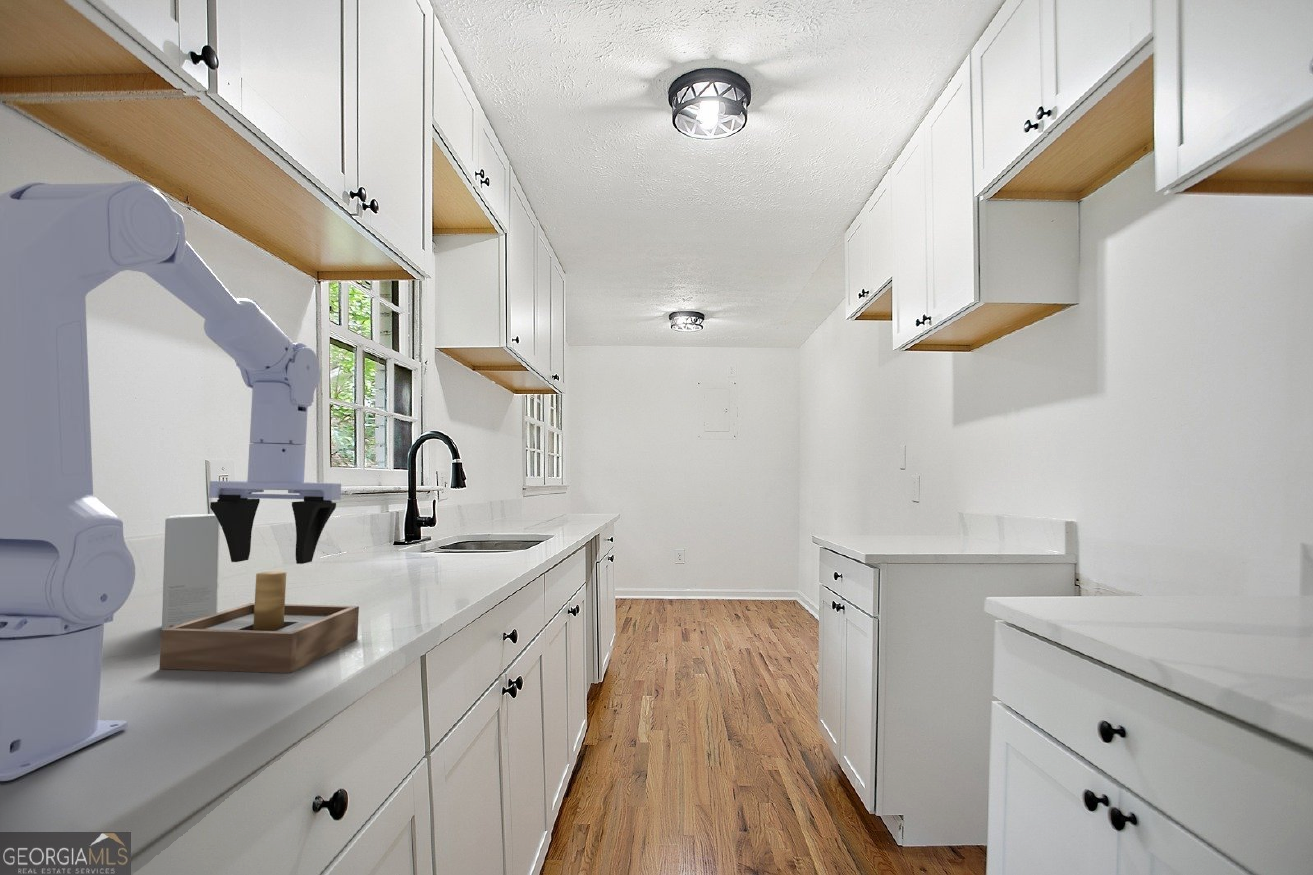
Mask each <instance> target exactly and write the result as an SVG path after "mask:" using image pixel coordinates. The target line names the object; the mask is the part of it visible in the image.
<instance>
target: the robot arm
mask: <svg viewBox="0 0 1313 875" xmlns="http://www.w3.org/2000/svg"><path fill="white" fill-rule="evenodd" d="M186 236H187V235H186V227H185V222H184V218H183V216H182V215H181V214H180V213H179V212H177V211H176V210H175V209H174V208H172V205H171V204H169V202H168V200H167V198H166V197H165V196H164V195H163V194H162V193H161V192H160V191H159V190H157V189H156V188H155V187H154V186H152V185H150V184H147V183H146V182H142V181H138V180H137V181H136V180H129V181H128V180H127V181H122V182H119V183H117V182H115V183H113V182H112V183H109V182H107V183H106V182H105V183H103V182H102V183H52V184H51V183H44V182H28V183H25V184H22V185H20V186H17V187H15V188H12V189H10V190H7V191H5V192H3V193H1V194H0V782H7V781H12V780H14V779H15V780H16V779H17V778H19V777H21V776H24V775H26V774H28V773H30V772H33V771H35V770H37V769H39V768H41V767H44V766H46V765H49V764H50V763H52V762H55V761H57V760H59V759H61V758H63V757H66V756H67V755H70V754H72V753H74V752H76V751H79V750H80V749H82V748H85V747H88V746H90V745H91V744H94V743H96V742H98V741H100V740H102V739H105V738H107V737H109V736H111V735H114V734H116V733H118V732H120V731H122V730H124V729H126V728H128V726H129V725H128V721H127V720H111V719H109V720H106V719H99V711H100V710H99V708H100V692H101V679H102V678H101V677H102V676H101V675H102V661H103V648H104V632H105V624H107V623H111V622H114V615H115V613H117V612H118V611H119V610H120V609H121V608H122V607H123V605H124V604H125V603H126V601H128V598H129V597H130V594H131V592H132V590H133V587H134V585H135V580H136V565H135V560H134V557H133V555H132V553H131V551H130V550H129V548H128V546H127V545H126V540H125V537H124V522H123V521H122V519H121V518H120V517H119V516H117V515H116V514H115V513H114V512H113V511H112V510H111V509H110V508H108V507H107V506H106V505H105V504H104V503H103V502H101V501H100V500H99V499H98V498H97V497H96V496H95V495H94V485H93V484H94V482H93V459H92V458H93V457H92V456H93V455H92V453H93V452H92V432H91V431H92V430H91V409H90V408H91V407H90V406H91V404H90V403H91V402H90V401H91V400H90V381H89V380H90V378H89V376H90V375H89V356H88V355H89V354H88V330H87V328H88V327H87V304H86V296H87V295H88V293H90V292H92V291H93V290H94V289H96V288H97V287H99V286H101V284H103V283H105V282H107V281H108V280H109V279H111V278H112V277H114V276H116V275H118V274H119V273H121V272H124V271H125V272H126V271H132V272H139V273H144V274H145V275H147V276H148V277H149V278H151V279H152V280H154V281H155V282H156V283H157V284H158V285H160V286H161V287H163V289H165V290H167V291H168V292H169V293H170V294H172V295H173V296H175V297H176V298H177V299H178V300H180V301H181V302H182V303H184V304H185V305H186V306H187V307H189V308H190V309H191V310H193V311H194V312H195V313H197V314H198V315H199V316H200V317H201V318H203V319H204V322H203V330H204V334H205V335H206V336H207V337H208V339H209V340H211V342H212V343H214V344H216V345H217V346H218V347H219V348H220V349H221V350H223V352H224V353H225V354H227V355H228V356H230V358H232V359H233V360H234V362H235V363H236V365H235V366H236V367H238V369H239V371H240V374H241V378H242V381H243V382H244V384H245V385H246V387H247V388H251V389H252V390H251V410H250V426H249V427H250V428H249V429H250V430H249V443H248V447H249V448H248V461H247V462H248V464H247V479H246V480H247V481H244V480H243V481H238V480H235V481H234V480H210V481H209V490H208V491H209V492H208V498H210V499H217V500H216V501H211V502H210V504H209V508H210V510H211V512H213V513H212V514H215V516H216V517H217V519H218V521H219V523H220V528H221V530H222V532H223V535H224V537H225V541H226V543H227V547H228V548H227V550H228V553H229V556H230V557H229V558H230V561H231V563H240V562H244V561H249V559H250V556H251V555H250V554H251V549H252V548H251V544H252V534H253V533H252V532H253V526H254V522H255V518H256V514H257V511H258V507H259V505H260V499H267V500H268V499H273V500H275V499H277V500H300V501H291V507H292V512H293V516H294V523H295V532H296V533H295V534H296V536H295V540H296V541H295V560H296V561H295V563H296V565H304V564H309V563H312V562H313V559H314V556H315V552H316V549H317V548H316V547H317V545H318V542H319V540H320V536H321V534H322V532H323V529H324V528H325V526H326V524H327V523H328V521H329V519H330V517H331V516H332V514H333V512H334V511H335V509H336V508H337V502H333V501H341V499H342V498H341V497H342V483H341V482H340V483H339V482H338V483H335V482H334V483H333V482H332V483H331V482H330V483H329V482H305V468H306V450H307V449H306V447H307V446H306V445H307V432H308V429H307V428H308V413H309V412H308V411H309V410H308V408H310V407H311V406H312V405H313V403H314V394H315V390H316V389H317V387H318V386H319V383H320V380H321V375H322V370H321V369H320V363H319V362H320V361H319V359H318V357H317V354H316V353H315V351H313V350H312V348H310V347H308V346H307V345H306V344H305V343H301V342H294V341H293V340H292V339H291V338H289V336H288V335H286V334H285V333H284V331H283V330H282V329H281V328H280V327H279V326H278V325H277V324H276V323H275V322H274V321H273V320H272V319H271V318H270V317H269V316H268V315H267V314H266V313H265V311H263V310H262V306H261V305H260V304H259V303H258V302H257V301H256V300H251V299H249V298H246V297H234V296H233V295H232V294H231V292H230V291H229V290H228V288H226V286H225V285H224V284H223V283H222V282H221V280H220V279H219V278H218V277H217V275H215V273H214V272H213V271H212V270H211V268H210V267H209V266H208V265H207V264H206V262H204V261H203V259H202V258H201V257H200V256H199V254H198V253H197V252H196V251H195V250H194V248H192V246H191V245H190V244H189V242H188V241H187V240H186V239H187V237H186ZM264 491H287V494H283V493H282V494H279V493H275V494H274V493H273V494H272V493H264ZM301 500H302V501H301Z"/></svg>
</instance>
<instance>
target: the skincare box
mask: <svg viewBox="0 0 1313 875" xmlns="http://www.w3.org/2000/svg"><path fill="white" fill-rule="evenodd" d="M164 524H165V525H164V548H163V549H164V550H163V551H164V553H163V578H162V580H163V581H162V609H161V611H162V612H161V614H162V615H161V631H162V630H163V629H167V628H170V627H173V626H177V625H180V624H183V623H186V622H190V621H193V620H196V619H200V618H203V617H206V616H210V615H213V614H216V613H219V578H220V577H219V572H220V571H219V568H220V544H221V541H220V539H221V525H220V523H219V521H218V519H217V517H216V516H215V514H214V513H204V514H203V513H202V514H201V513H199V514H178V515H177V514H175V515H169V516H167V517H166V518H165V522H164Z"/></svg>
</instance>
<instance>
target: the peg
mask: <svg viewBox="0 0 1313 875" xmlns="http://www.w3.org/2000/svg"><path fill="white" fill-rule="evenodd" d="M255 575H256V576H255V589H254V590H255V591H254V603H255V606H254V624H253V630H257V631H277V630H279V629H282V628H283V627H284V609H285V604H286V587H287V586H286V584H287V572H286V571H282V570H280V571H279V570H275V571H262V572H257V573H256V574H255Z"/></svg>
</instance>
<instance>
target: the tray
mask: <svg viewBox="0 0 1313 875" xmlns="http://www.w3.org/2000/svg"><path fill="white" fill-rule="evenodd" d="M254 606H255V602H254V603H253V602H250V603H247V604H244V605H241V606H240V605H239V606H237V607H234V608H230V609H227V610H224V611H220V612H218V613H216V614H213V615H210V616H206V617H203V618H200V619H196V620H193V621H190V622H186V623H183V624H180V625H177V626H173V627H170V628H167V629H163V630H162V629H161V635H160V636H161V640H160V656H159V668H158V669H159V670H183V671H184V670H185V671H187V670H189V671H191V670H192V671H217V672H218V671H219V672H221V671H222V672H244V673H245V672H246V673H248V672H249V673H252V672H253V673H284V674H291V673H294V672H295V671H297V670H299V669H301V668H303V667H305V666H307V665H309V664H311V663H313V662H315V661H317V660H319V659H320V658H323V657H325V656H326V655H329V654H330V653H332V652H334V651H336V650H339V649H341V648H342V647H343V646H346V645H348V644H350V643H352V642H354V641H356V640H358V637H359V636H358V635H359V615H360V614H359V611H360V606H359V605H357V606H355V605H327V604H326V605H324V604H322V605H321V604H319V605H318V604H289V603H285V609H284V627H283V628H282V629H279V630H277V631H257V630H253V624H254Z"/></svg>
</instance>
